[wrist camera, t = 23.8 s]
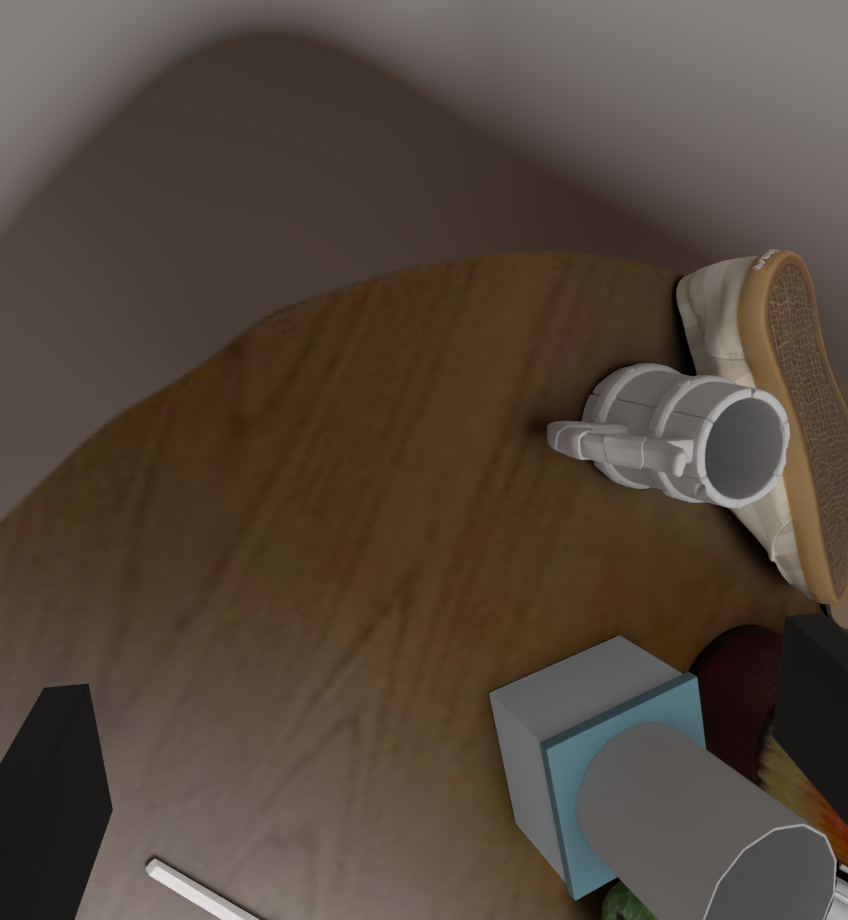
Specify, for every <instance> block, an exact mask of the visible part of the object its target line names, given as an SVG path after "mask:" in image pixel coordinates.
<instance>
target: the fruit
mask: <svg viewBox="0 0 848 920" xmlns="http://www.w3.org/2000/svg"><path fill="white" fill-rule="evenodd" d="M602 920H658V919H657V918H656V917H655V916H654V915H653V914H652V913H651V912H650V911H649V910H648V908H647V907H646V906H645V905H644V904H643V903H642V902H641V901H640V900H639V899H638V898H637V897H636V896H635V895H634V894H633V893H632V891H631V890H630V889H629V888H628V887H627V886H626V885H625V884H624V883H623V882H622V881H621V880H620V881H618V882H617V884H616V885H615V886H614V887H613V888H612V889H611V890H610V891H609V892H608V893H607V896H606V898H605V900H604V902H603V904H602Z"/></svg>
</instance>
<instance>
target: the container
mask: <svg viewBox="0 0 848 920" xmlns="http://www.w3.org/2000/svg"><path fill="white" fill-rule="evenodd" d="M489 696H490V701H491V706H492V711H493V715H494V720H495V725H496V730H497V735H498V740H499V745H500V749H501V754H502V759H503V764H504V769H505V774H506V779H507V783H508V788H509V793H510V798H511V803H512V808H513V813H514V817H515V822H516V824H517V825H518V827H519V828H520V829H521V830H522V831H523V833H524V834H525V835H526V836H527V837H528V838H529V840H530V841H531V842H532V843H533V844H534V846H535V847H536V848H537V849H538V850H539V852H540V853H541V854H542V855H543V856H544V857H545V859H546V860H547V861H548V862H549V863H550V865H551V866H552V867H553V868H554V869H555V870H556V872H557V873H558V874H559V875H560V876H561V878H562V879H563V880H564V881H565V882H566V886H567V892H568V893H569V894H570V896H571V897H572V898H573V899H574V900H575V901H576V900H578V899H580V898H581V897H583V896H585V895H587V894H588V893H590V892H592V891H594V890H595V889H597V888H599V887H601V886H603V885H604V884H606V883H608V882H610V881H611V880H613V879H615V878H617V876H616V874H615V873H614V872H613V871H612V870H611V869H610V868H609V867H608V866H607V865H606V864H605V863H604V862H603V861H602V860H601V859H600V857H599V856H598V855H597V854H596V853H595V852H594V851H593V850H592V849H591V848H590V847H589V845H588V844H587V842H586V840H585V838H584V837H583V835H582V833H581V832H580V830H579V828H578V827H577V816H576V795H577V792H578V790H579V787H580V784H581V782H582V779H583V776H584V774H585V771H586V768H587V766H588V764H589V763H590V762H591V761H592V759H593V758H594V757H595V756H596V755H597V753H598V752H599V751H600V750H601V749H602V747H603V746H604V745H605V744H606V743H607V741H608V740H609V739H610V738H612V737H614V736H615V735H617V734H619V733H621V732H622V731H624V730H626V729H628V728H629V727H631V726H633V725H634V724H636V723H649V722H664V723H666V724H668V725H669V726H671V727H673V728H675V729H677V730H678V731H680V732H682V733H683V734H685V735H686V736H688V737H689V738H690V739H692V740H693V741H695V742H696V743H697V744H699V745H700V746H702V747H703V748H704V749H706V745H705V737H704V729H703V720H702V712H701V704H700V696H699V687H698V679H697V677H696V676H695V675H693V674H691V673H690V672H686V673H684V674H682V673H680V672H679V671H677V670H675V669H674V668H672V667H670V666H669V665H667V664H666V663H664V662H662V661H661V660H659V659H658V658H656V657H654V656H653V655H651V654H649V653H648V652H646V651H645V650H643V649H641V648H640V647H638V646H636V645H635V644H633V643H632V642H630V641H628V640H627V639H625V638H624V637H622V636H620V635H619V636H616V637H614V638H612V639H610V640H607V641H605V642H603V643H601V644H598V645H596V646H594V647H592V648H589V649H587V650H585V651H583V652H580V653H578V654H576V655H573V656H571V657H569V658H567V659H564V660H562V661H560V662H558V663H555V664H553V665H551V666H549V667H546V668H544V669H542V670H540V671H537V672H535V673H533V674H531V675H528V676H526V677H524V678H522V679H519V680H517V681H515V682H513V683H510V684H508V685H506V686H503V687H501V688H499V689H497V690H494V691H492V692H490V693H489Z"/></svg>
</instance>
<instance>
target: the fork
mask: <svg viewBox="0 0 848 920" xmlns="http://www.w3.org/2000/svg"><path fill="white" fill-rule="evenodd" d="M146 871H147V873H148V875H149V876H151V877H153V878H154V879H156V880H157V881H159V882H161V883H162V884H164V885H166V886H167V887H169V888H171V889H172V890H174V891H176V892H177V893H179V894H180V895H182V896H184V897H185V898H187V899H189V900H190V901H192V902H194V903H195V904H197V905H199V906H200V907H202V908H203V909H205V910H207V911H208V912H210V913H212V914H213V915H215V916H217V917H218V918H220V919H222V920H259V919H257V918H256V917H254V916H252V915H251V914H249V913H247V912H246V911H244V910H242V909H240V908H239V907H237V906H235V905H234V904H232V903H230V902H228V901H227V900H225V899H223V898H222V897H220V896H218V895H217V894H215V893H213V892H211V891H210V890H208V889H206V888H205V887H203V886H201V885H199V884H198V883H196V882H194V881H193V880H191V879H189V878H188V877H186V876H184V875H182V874H181V873H179V872H177V871H176V870H174V869H172V868H170V867H169V866H167V865H165V864H164V863H162V862H160V861H159V860H157V859H153V860H152V861H151V862H150V863H149V864H148V866H147V867H146Z"/></svg>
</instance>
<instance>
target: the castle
mask: <svg viewBox="0 0 848 920" xmlns="http://www.w3.org/2000/svg"><path fill="white" fill-rule="evenodd" d="M838 868H839V869H841V870H843V871H844V872H846V873H848V868H847V867H846V866H844V865H843V864H841V863H840V862H839V866H838ZM824 920H848V883H847V882H845V881H844V880H842V879H840V878H838V877H837V876H836V880H835V894H834V896H833V899H832V902H831V904H830V907H829V909H828V912H827V914H826V917H825V919H824Z"/></svg>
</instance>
